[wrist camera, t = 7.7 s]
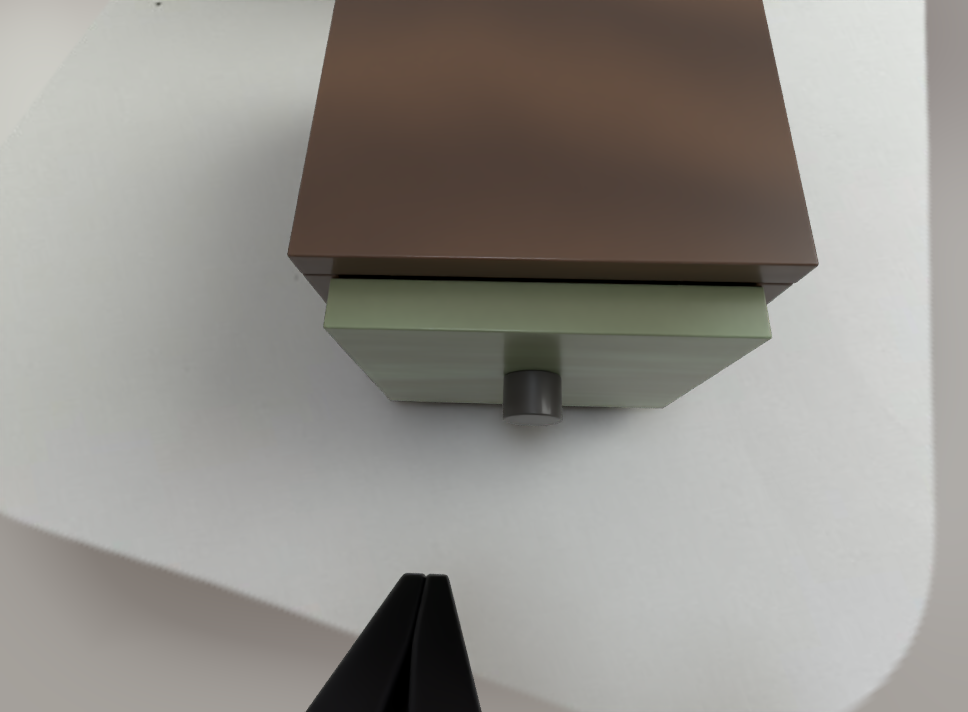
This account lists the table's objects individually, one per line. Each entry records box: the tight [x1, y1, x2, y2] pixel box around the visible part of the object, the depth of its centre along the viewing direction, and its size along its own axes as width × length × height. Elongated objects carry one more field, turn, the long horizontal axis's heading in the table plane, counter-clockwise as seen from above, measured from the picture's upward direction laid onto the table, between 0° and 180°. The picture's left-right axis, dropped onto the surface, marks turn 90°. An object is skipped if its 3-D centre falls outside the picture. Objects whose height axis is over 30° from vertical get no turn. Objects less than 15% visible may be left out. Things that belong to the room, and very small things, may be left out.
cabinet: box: [287, 0, 819, 305], centre depth 16 cm, size 14×11×9 cm
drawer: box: [323, 275, 772, 426], centre depth 15 cm, size 14×9×7 cm
